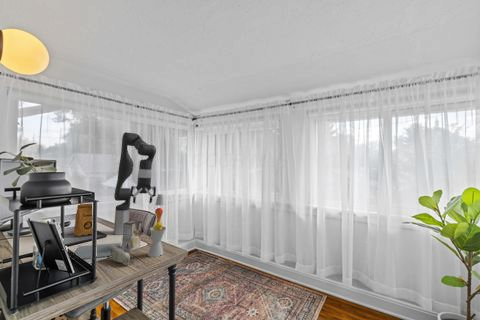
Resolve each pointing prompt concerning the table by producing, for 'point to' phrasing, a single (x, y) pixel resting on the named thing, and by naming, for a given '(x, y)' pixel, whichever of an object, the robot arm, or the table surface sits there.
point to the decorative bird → (119, 255)
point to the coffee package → (83, 220)
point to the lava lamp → (157, 230)
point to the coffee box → (131, 235)
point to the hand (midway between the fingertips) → (142, 203)
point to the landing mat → (102, 250)
